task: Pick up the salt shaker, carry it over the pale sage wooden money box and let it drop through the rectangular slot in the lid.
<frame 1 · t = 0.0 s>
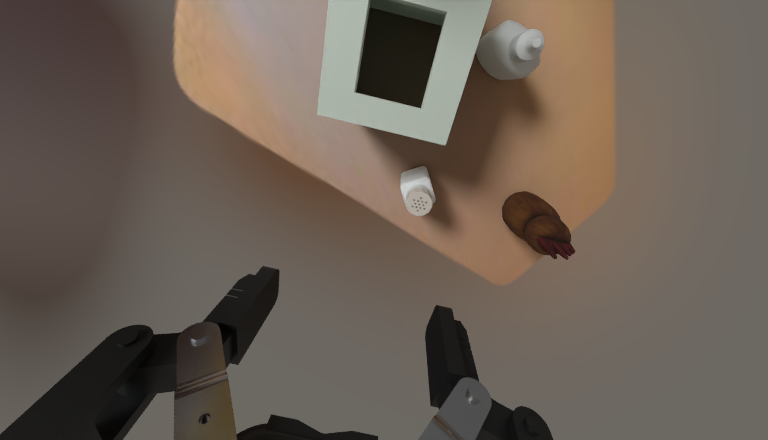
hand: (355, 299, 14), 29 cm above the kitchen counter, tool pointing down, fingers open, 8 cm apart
money box: (400, 66, 34), on the kitchen counter
salt shaker: (416, 179, 41), on the kitchen counter
eye dropper bottle: (493, 57, 33), on the kitchen counter
wooden figurine: (517, 205, 42), on the kitchen counter
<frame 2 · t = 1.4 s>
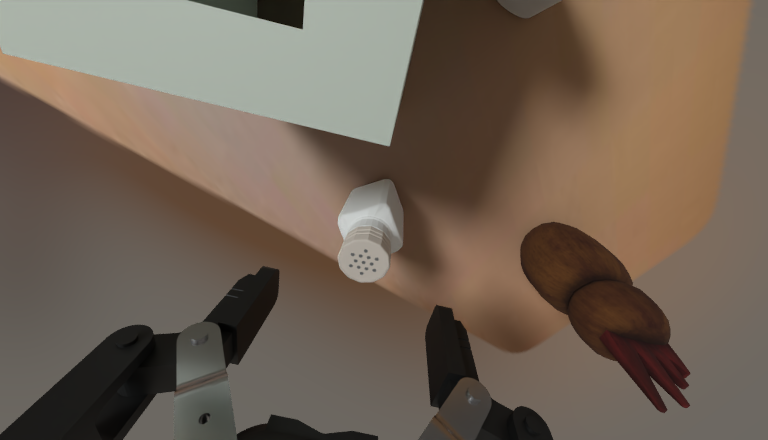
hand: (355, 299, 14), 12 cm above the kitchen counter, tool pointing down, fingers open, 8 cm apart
salt shaker: (378, 200, 25), on the kitchen counter
wooden figurine: (545, 241, 25), on the kitchen counter
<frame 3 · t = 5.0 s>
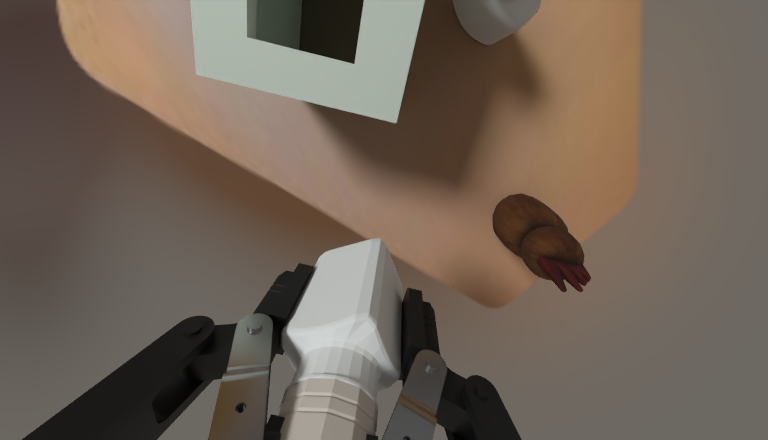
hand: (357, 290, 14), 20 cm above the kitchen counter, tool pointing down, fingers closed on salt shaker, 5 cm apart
money box: (354, 28, 26), on the kitchen counter
salt shaker: (363, 266, 16), point 18 cm above the kitchen counter, touching gripper
eye dropper bottle: (478, 14, 25), on the kitchen counter
wooden figurine: (512, 211, 33), on the kitchen counter
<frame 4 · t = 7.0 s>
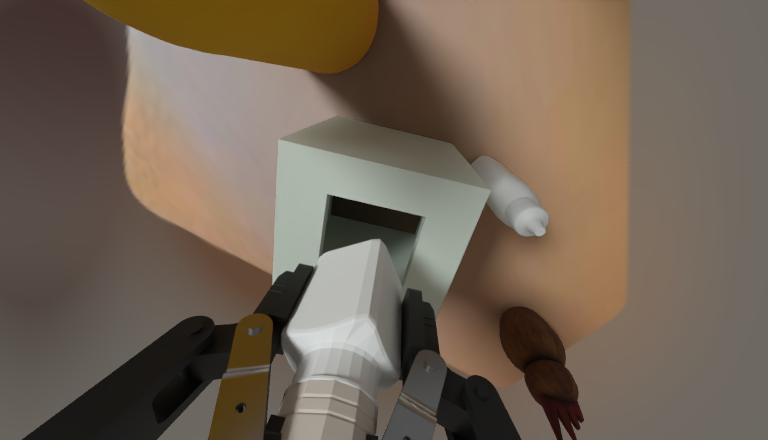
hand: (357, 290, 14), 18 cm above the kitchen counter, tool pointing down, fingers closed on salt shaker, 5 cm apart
money box: (382, 184, 30), on the kitchen counter
salt shaker: (363, 266, 16), point 15 cm above the kitchen counter, touching gripper
beer bottle: (328, 15, 24), on the kitchen counter
eye dropper bottle: (489, 177, 29), on the kitchen counter
wooden figurine: (517, 316, 37), on the kitchen counter
when the fingers open (17 cm above the kitchen counter, at t = 7.4 s): salt shaker drops 15 cm, resting in money box.
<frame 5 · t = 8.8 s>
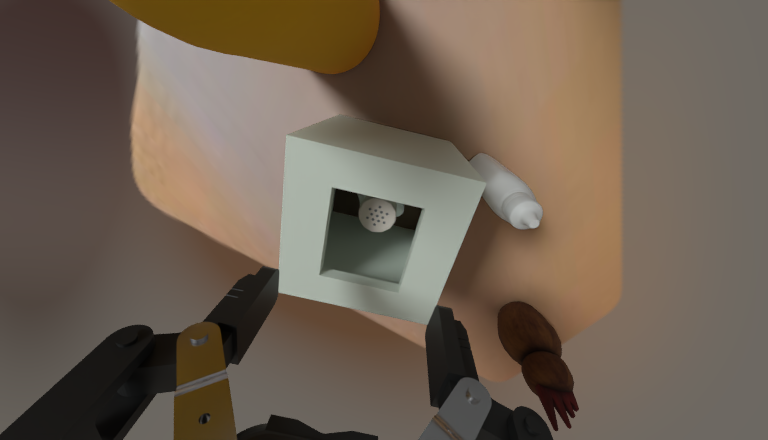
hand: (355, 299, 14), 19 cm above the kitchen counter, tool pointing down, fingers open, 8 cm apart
money box: (383, 181, 31), on the kitchen counter
salt shaker: (384, 180, 31), resting in money box
beer bottle: (331, 17, 25), on the kitchen counter
eye dropper bottle: (486, 174, 30), on the kitchen counter
wooden figurine: (514, 310, 38), on the kitchen counter
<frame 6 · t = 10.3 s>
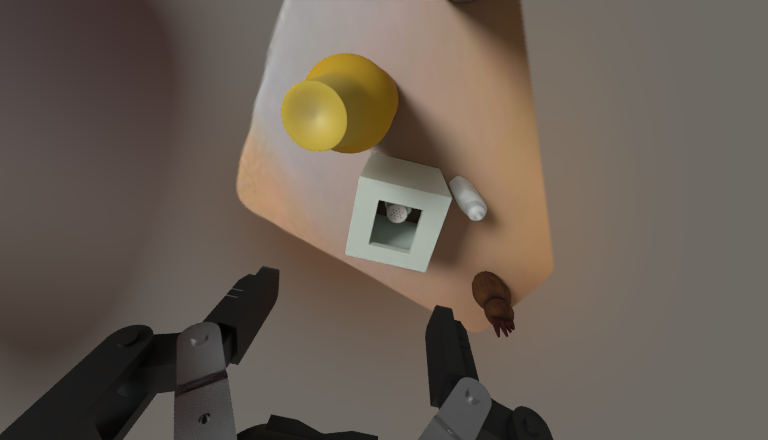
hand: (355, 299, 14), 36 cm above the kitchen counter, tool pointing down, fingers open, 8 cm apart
money box: (397, 192, 49), on the kitchen counter
salt shaker: (398, 191, 49), resting in money box
beer bottle: (369, 99, 43), on the kitchen counter
eye dropper bottle: (462, 188, 48), on the kitchen counter
wooden figurine: (484, 278, 56), on the kitchen counter
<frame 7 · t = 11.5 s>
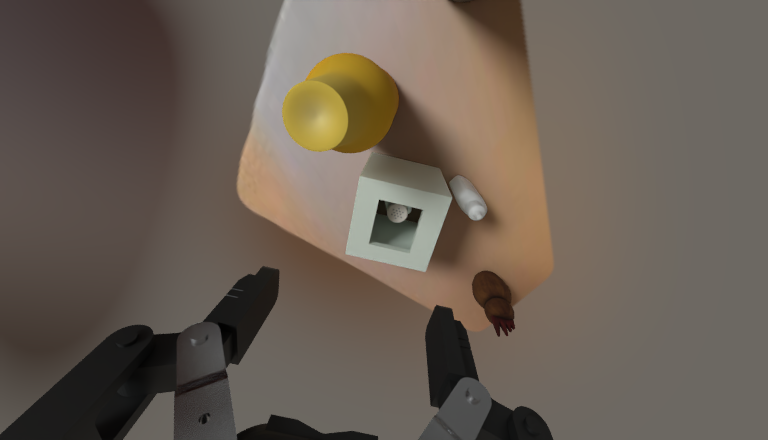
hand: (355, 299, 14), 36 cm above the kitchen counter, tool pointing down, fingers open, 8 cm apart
money box: (397, 191, 49), on the kitchen counter
salt shaker: (398, 191, 49), resting in money box
beer bottle: (370, 99, 43), on the kitchen counter
eye dropper bottle: (462, 188, 48), on the kitchen counter
wooden figurine: (484, 278, 56), on the kitchen counter
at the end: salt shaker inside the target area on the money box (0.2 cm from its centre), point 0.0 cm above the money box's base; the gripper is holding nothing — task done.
